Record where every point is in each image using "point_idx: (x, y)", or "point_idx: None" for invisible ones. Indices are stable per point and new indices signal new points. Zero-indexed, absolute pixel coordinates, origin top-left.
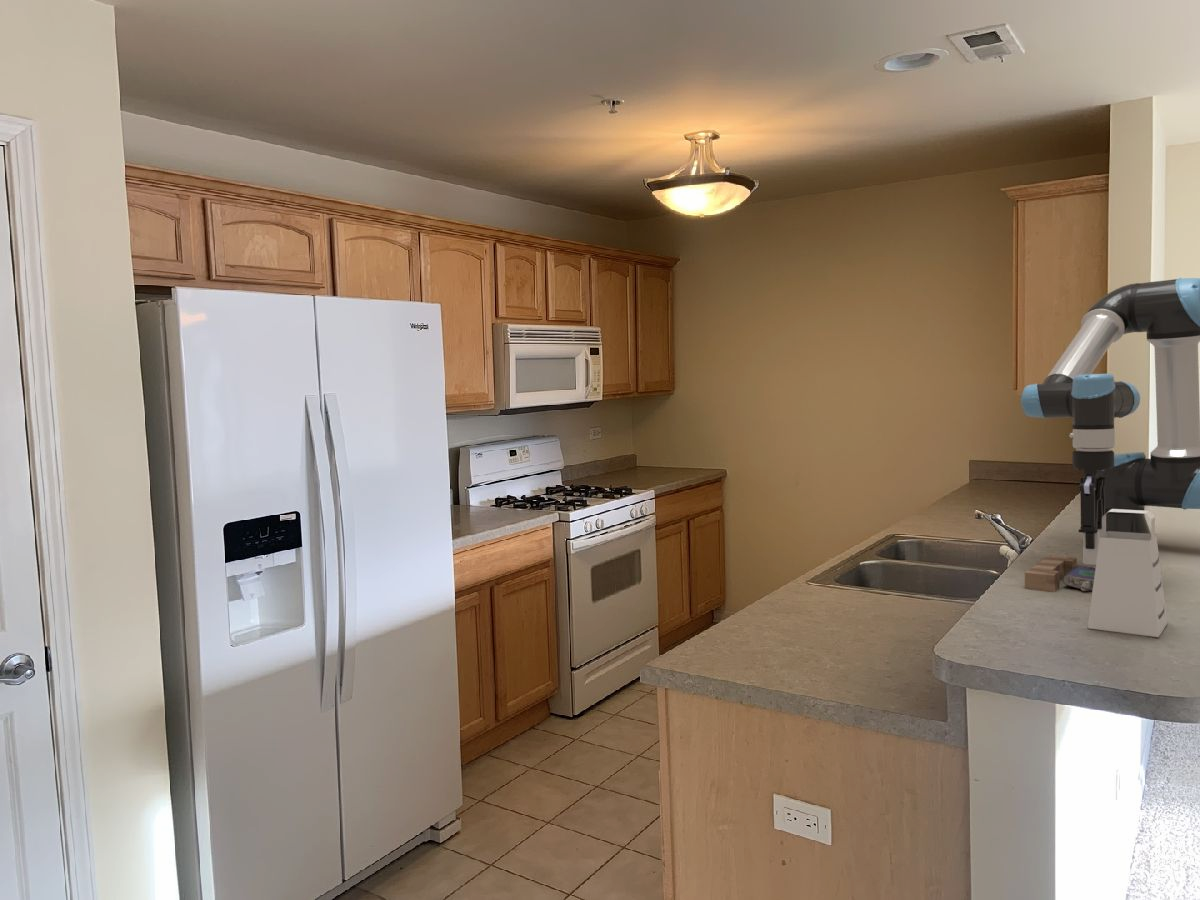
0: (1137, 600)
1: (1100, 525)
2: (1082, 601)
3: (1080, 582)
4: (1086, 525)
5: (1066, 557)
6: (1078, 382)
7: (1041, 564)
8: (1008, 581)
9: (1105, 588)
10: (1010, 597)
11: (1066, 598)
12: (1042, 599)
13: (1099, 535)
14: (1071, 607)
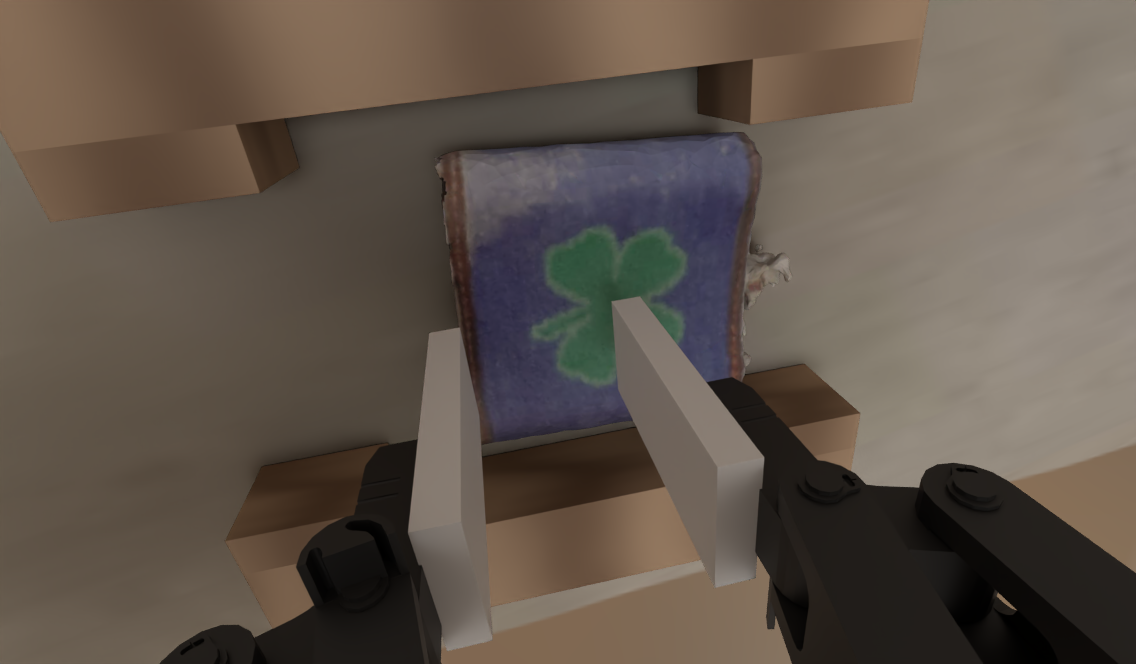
0: None
1: (416, 604)
2: (946, 195)
3: (750, 303)
4: (994, 596)
5: (275, 578)
6: None
7: (592, 567)
8: (667, 570)
9: None
10: (958, 443)
11: (905, 277)
12: (958, 345)
13: (464, 493)
14: (1082, 192)
